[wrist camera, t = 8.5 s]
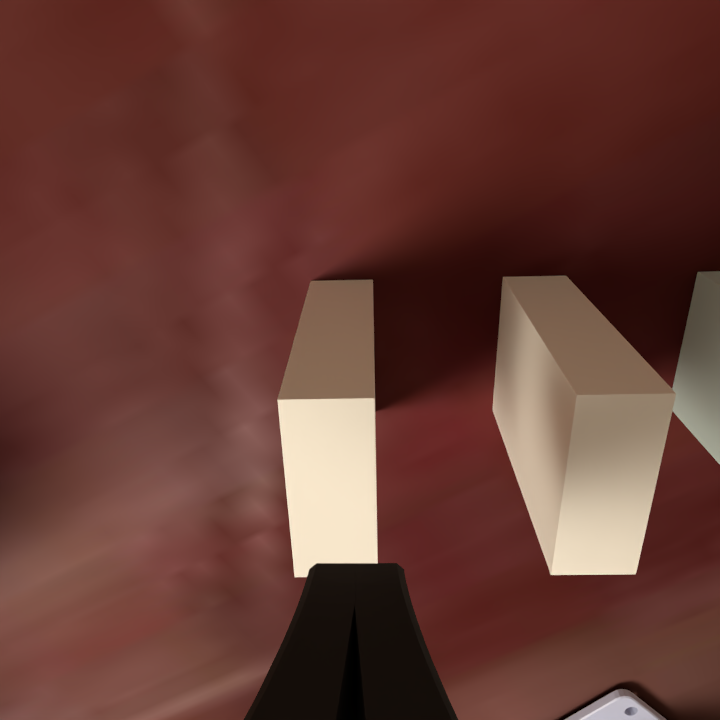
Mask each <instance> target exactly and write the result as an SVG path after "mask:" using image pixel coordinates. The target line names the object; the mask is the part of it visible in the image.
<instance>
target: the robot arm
mask: <svg viewBox="0 0 720 720" xmlns="http://www.w3.org/2000/svg"><path fill="white" fill-rule="evenodd" d="M244 720H458V718H457V716H456V714H455V712H454V710H453V708H452V706H451V703H450V701H449V699H448V696H447V694H446V692H445V689H444V687H443V685H442V682H441V680H440V678H439V675H438V673H437V671H436V669H435V666H434V664H433V662H432V659H431V656H430V654H429V651H428V649H427V646H426V644H425V641H424V638H423V635H422V633H421V630H420V627H419V624H418V621H417V619H416V615H415V612H414V609H413V606H412V603H411V599H410V596H409V592H408V588H407V584H406V579H405V574H404V569H403V568H402V567H400V566H399V565H398V564H397V563H316V564H315V565H314V566H313V567H311V568H310V569H309V572H308V576H307V580H306V583H305V586H304V589H303V592H302V595H301V598H300V601H299V603H298V606H297V609H296V611H295V614H294V616H293V619H292V621H291V623H290V626H289V628H288V630H287V633H286V635H285V637H284V640H283V642H282V644H281V646H280V649H279V651H278V653H277V655H276V657H275V659H274V661H273V663H272V665H271V667H270V669H269V671H268V674H267V676H266V678H265V680H264V682H263V684H262V686H261V688H260V690H259V692H258V694H257V696H256V698H255V700H254V702H253V704H252V706H251V707H250V709H249V711H248V713H247V715H246V717H245V718H244ZM564 720H666V719H665V718H664V717H663V716H661V715H660V714H659V713H658V712H656V711H655V710H654V709H652V708H651V707H650V706H649V705H647V704H646V703H645V702H644V701H642V700H641V699H640V698H638V697H637V696H636V695H635V694H633V693H632V692H631V691H629V690H626V689H617V690H615V691H613V692H611V693H609V694H607V695H606V696H604V697H602V698H600V699H599V700H597V701H595V702H594V703H592V704H590V705H588V706H587V707H585V708H583V709H581V710H580V711H578V712H576V713H575V714H573V715H571V716H569V717H568V718H566V719H564Z"/></svg>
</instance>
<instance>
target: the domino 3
mask: <svg viewBox="0 0 720 720" xmlns="http://www.w3.org/2000/svg"><path fill="white" fill-rule="evenodd" d="M672 390H673V391H674V392H675V393H676V397H675V401H674V406H673V410H672V411H673V412H674V413H675V414H676V415H677V417H678V418H679V419H680V420H681V421H682V422H683V423H684V425H685V426H686V427H687V428H688V429H689V430H690V431H691V433H692V434H693V435H694V436H695V437H696V438H697V439H698V440H699V442H700V443H701V444H702V445H703V446H704V447H705V448H706V450H707V451H708V452H709V453H710V454H711V455H712V456H713V458H714V459H715V460H716V461H717V462H718V463H719V464H720V271H708V272H697V277H696V281H695V286H694V291H693V295H692V300H691V305H690V309H689V314H688V318H687V323H686V328H685V332H684V337H683V342H682V346H681V351H680V356H679V360H678V365H677V370H676V374H675V379H674V383H673V388H672Z"/></svg>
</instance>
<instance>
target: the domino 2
mask: <svg viewBox="0 0 720 720" xmlns="http://www.w3.org/2000/svg"><path fill="white" fill-rule="evenodd" d="M675 397H676V393H675V392H674V391H673V390H672V388H671V387H670V386H669V385H668V384H667V383H666V382H665V381H664V380H663V379H662V378H661V377H660V376H659V375H658V373H657V372H656V371H655V370H654V369H653V368H652V367H651V366H650V365H649V364H648V363H647V362H646V361H645V360H644V358H643V357H642V356H641V355H640V354H639V353H638V352H637V351H636V350H635V349H634V348H633V347H632V346H631V345H630V343H629V342H628V341H627V340H626V339H625V338H624V337H623V336H622V335H621V334H620V333H619V332H618V331H617V330H616V328H615V327H614V326H613V325H612V324H611V323H610V322H609V321H608V320H607V319H606V318H605V317H604V316H603V315H602V313H601V312H600V311H599V310H598V309H597V308H596V307H595V306H594V305H593V304H592V303H591V302H590V301H589V300H588V298H587V297H586V296H585V295H584V294H583V293H582V292H581V291H580V290H579V289H578V288H577V287H576V286H575V285H574V283H573V282H572V281H571V280H570V279H569V278H568V277H567V276H519V277H503V280H502V293H501V306H500V319H499V332H498V345H497V358H496V371H495V384H494V397H493V413H494V416H495V418H496V421H497V424H498V427H499V430H500V433H501V435H502V438H503V441H504V444H505V447H506V449H507V452H508V455H509V458H510V461H511V464H512V466H513V469H514V472H515V475H516V478H517V480H518V483H519V486H520V489H521V492H522V495H523V497H524V500H525V503H526V506H527V509H528V512H529V514H530V517H531V520H532V523H533V526H534V528H535V531H536V534H537V537H538V540H539V543H540V545H541V548H542V551H543V554H544V557H545V560H546V562H547V565H548V568H549V571H550V574H551V575H605V574H636V571H637V567H638V562H639V558H640V553H641V549H642V544H643V540H644V535H645V531H646V526H647V522H648V517H649V513H650V509H651V504H652V500H653V495H654V491H655V486H656V482H657V477H658V473H659V468H660V464H661V459H662V455H663V450H664V446H665V441H666V437H667V432H668V428H669V423H670V419H671V415H672V410H673V406H674V401H675Z"/></svg>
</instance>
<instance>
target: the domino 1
mask: <svg viewBox="0 0 720 720" xmlns="http://www.w3.org/2000/svg"><path fill="white" fill-rule="evenodd" d="M278 410H279V420H280V430H281V441H282V451H283V461H284V472H285V482H286V492H287V503H288V513H289V523H290V534H291V544H292V554H293V565H294V575H295V577H307V576H308V572H309V569H310V568H311V567H313V566H314V565H315V564H316V563H378V555H377V485H376V415H375V359H374V304H373V280H327V281H311V282H310V285H309V289H308V292H307V296H306V299H305V303H304V307H303V310H302V314H301V317H300V321H299V325H298V328H297V332H296V335H295V339H294V342H293V346H292V350H291V353H290V357H289V360H288V364H287V368H286V371H285V375H284V378H283V382H282V385H281V389H280V393H279V396H278Z"/></svg>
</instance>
